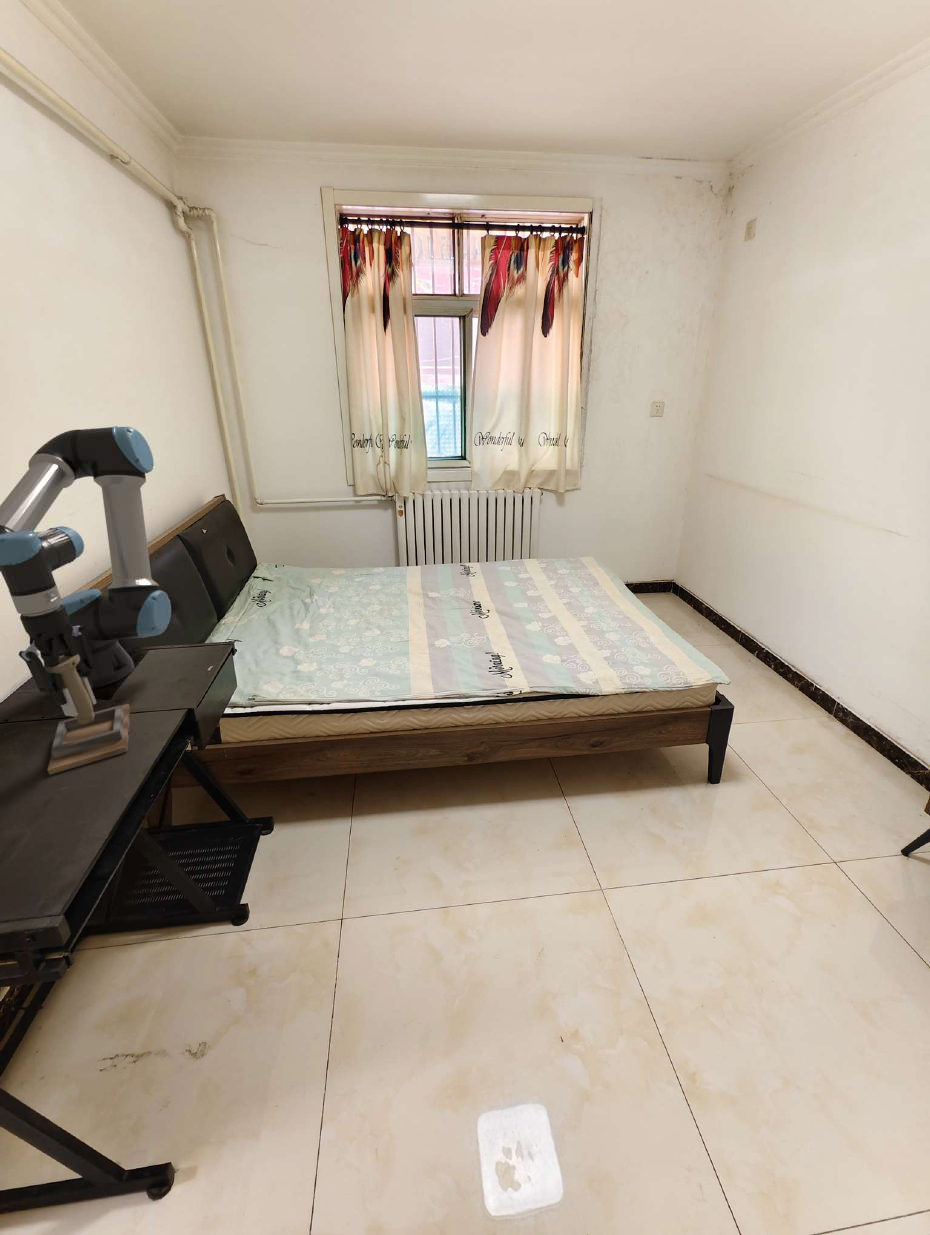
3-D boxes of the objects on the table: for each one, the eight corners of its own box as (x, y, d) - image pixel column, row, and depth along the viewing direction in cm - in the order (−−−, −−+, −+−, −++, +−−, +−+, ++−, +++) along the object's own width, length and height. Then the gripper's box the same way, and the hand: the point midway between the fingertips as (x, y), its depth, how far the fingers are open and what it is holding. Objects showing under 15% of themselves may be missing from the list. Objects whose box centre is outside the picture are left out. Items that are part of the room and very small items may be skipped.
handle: (66, 729, 119) (39, 668, 113) (88, 712, 125) (63, 653, 119) (86, 729, 118) (60, 667, 112) (107, 712, 124) (83, 653, 118)
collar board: (62, 726, 129) (57, 714, 128) (130, 707, 135) (125, 696, 134) (49, 774, 113) (43, 762, 111) (127, 751, 118) (122, 739, 117)
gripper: (14, 628, 103) (59, 733, 112) (92, 594, 118) (126, 690, 127) (-16, 626, 105) (30, 730, 114) (64, 593, 120) (99, 687, 129)
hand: (81, 708), depth 120 cm, fingers closed on handle, 4 cm apart
